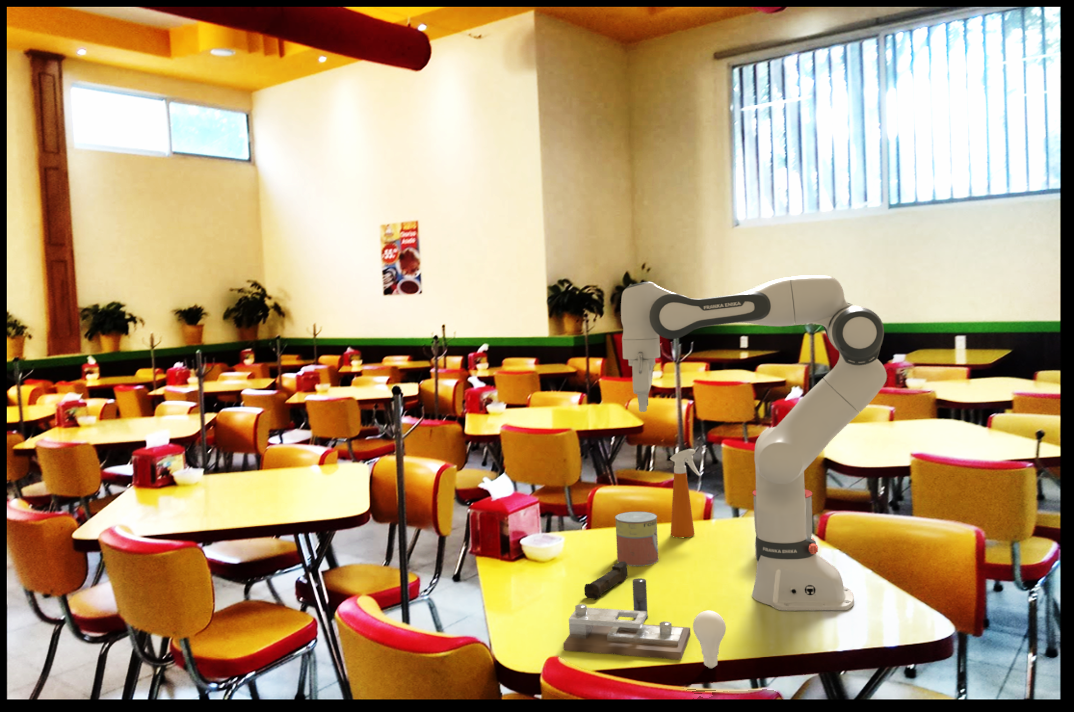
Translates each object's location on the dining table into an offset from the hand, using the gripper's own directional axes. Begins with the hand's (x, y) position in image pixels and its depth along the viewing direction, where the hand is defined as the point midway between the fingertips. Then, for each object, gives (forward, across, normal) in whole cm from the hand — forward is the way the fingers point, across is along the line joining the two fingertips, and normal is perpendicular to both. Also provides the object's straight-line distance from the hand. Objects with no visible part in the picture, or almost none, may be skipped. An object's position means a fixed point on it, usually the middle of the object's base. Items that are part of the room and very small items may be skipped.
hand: (643, 408), depth 205 cm
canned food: (+45, +26, +5) cm, 52 cm away
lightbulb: (+45, -42, -12) cm, 63 cm away
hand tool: (+45, +4, +11) cm, 47 cm away
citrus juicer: (+45, +30, -34) cm, 64 cm away
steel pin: (+45, -17, +2) cm, 48 cm away
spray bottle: (+45, +49, -9) cm, 67 cm away
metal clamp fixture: (+43, -31, +4) cm, 53 cm away
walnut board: (+45, -31, +4) cm, 54 cm away
